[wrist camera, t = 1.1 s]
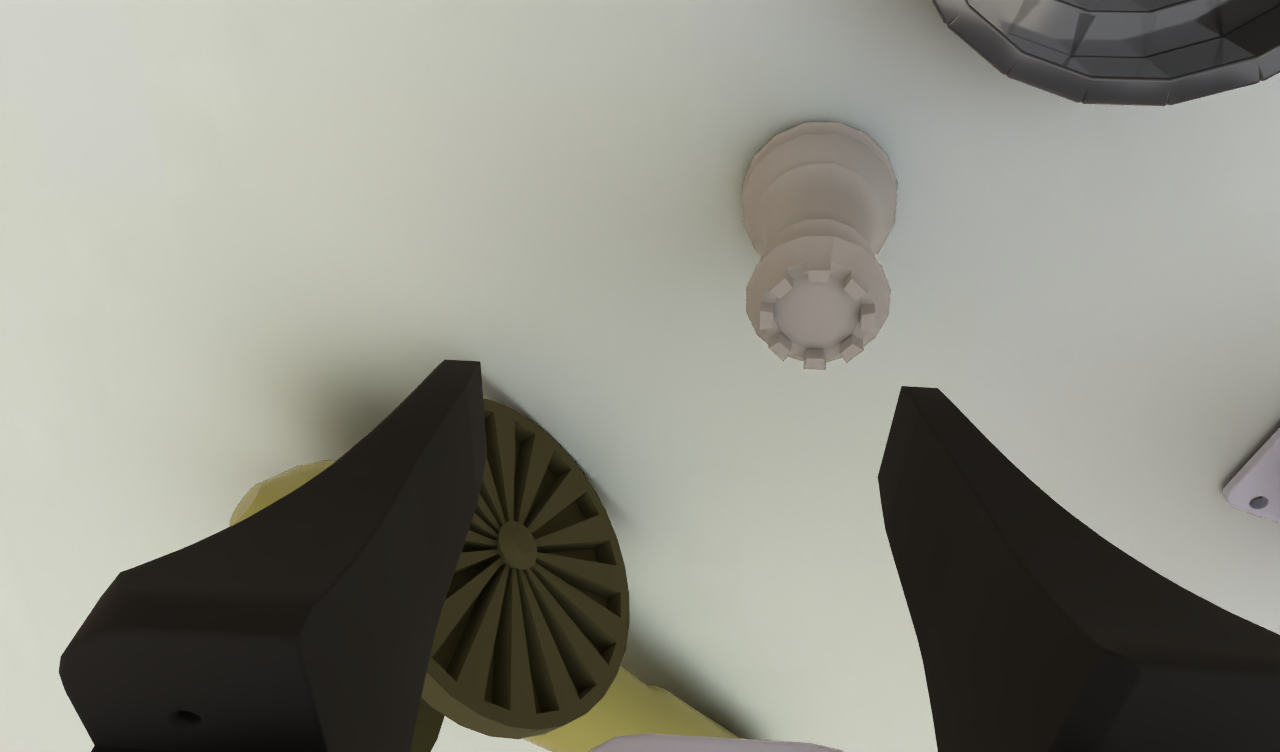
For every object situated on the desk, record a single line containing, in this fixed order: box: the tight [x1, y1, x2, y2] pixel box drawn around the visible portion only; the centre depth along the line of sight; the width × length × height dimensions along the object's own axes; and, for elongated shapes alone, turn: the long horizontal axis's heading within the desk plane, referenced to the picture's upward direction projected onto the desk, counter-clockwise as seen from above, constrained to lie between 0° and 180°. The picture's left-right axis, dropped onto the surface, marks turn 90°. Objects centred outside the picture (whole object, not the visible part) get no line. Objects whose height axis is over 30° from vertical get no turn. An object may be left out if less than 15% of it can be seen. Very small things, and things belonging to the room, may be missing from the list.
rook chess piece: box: [742, 122, 898, 370], centre depth 23 cm, size 4×4×8 cm
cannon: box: [230, 399, 741, 752], centre depth 33 cm, size 25×12×11 cm, turn 42°
